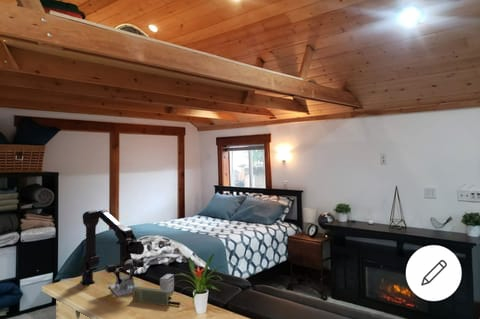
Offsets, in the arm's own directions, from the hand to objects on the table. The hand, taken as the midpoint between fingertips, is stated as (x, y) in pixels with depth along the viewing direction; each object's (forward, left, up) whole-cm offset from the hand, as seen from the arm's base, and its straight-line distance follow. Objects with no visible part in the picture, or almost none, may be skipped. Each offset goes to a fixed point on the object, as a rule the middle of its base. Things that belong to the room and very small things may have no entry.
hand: (124, 282), depth 183 cm
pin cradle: (0, 0, -4) cm, 4 cm away
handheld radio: (+27, +7, -4) cm, 28 cm away
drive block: (0, 0, -1) cm, 1 cm away
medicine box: (+18, +16, -4) cm, 24 cm away
